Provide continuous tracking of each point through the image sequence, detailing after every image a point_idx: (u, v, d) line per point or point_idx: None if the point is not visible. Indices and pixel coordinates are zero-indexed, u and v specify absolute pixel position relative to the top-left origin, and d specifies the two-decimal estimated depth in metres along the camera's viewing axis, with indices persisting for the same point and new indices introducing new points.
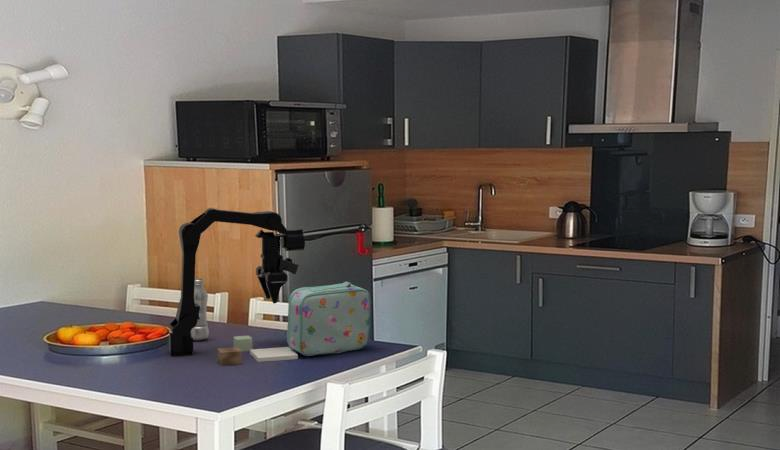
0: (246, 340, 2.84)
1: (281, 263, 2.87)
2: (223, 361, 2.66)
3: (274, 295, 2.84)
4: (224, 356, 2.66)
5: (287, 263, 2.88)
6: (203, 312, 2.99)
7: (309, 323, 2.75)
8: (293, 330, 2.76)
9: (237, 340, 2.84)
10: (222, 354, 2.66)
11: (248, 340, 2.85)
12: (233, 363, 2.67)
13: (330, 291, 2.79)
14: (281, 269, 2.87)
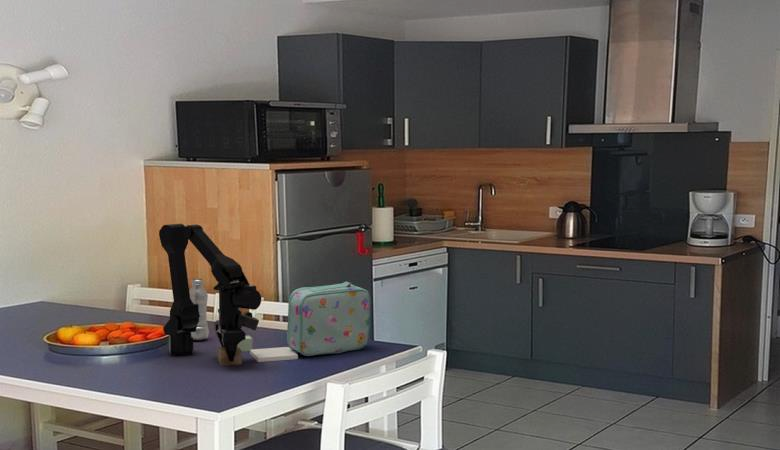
0: (246, 340, 2.84)
1: (239, 319, 2.67)
2: (223, 360, 2.66)
3: (231, 353, 2.65)
4: (224, 355, 2.66)
5: (246, 319, 2.68)
6: (203, 312, 2.99)
7: (309, 323, 2.75)
8: (293, 330, 2.76)
9: None
10: (222, 353, 2.66)
11: (248, 340, 2.85)
12: (233, 362, 2.67)
13: (330, 291, 2.79)
14: (239, 325, 2.67)
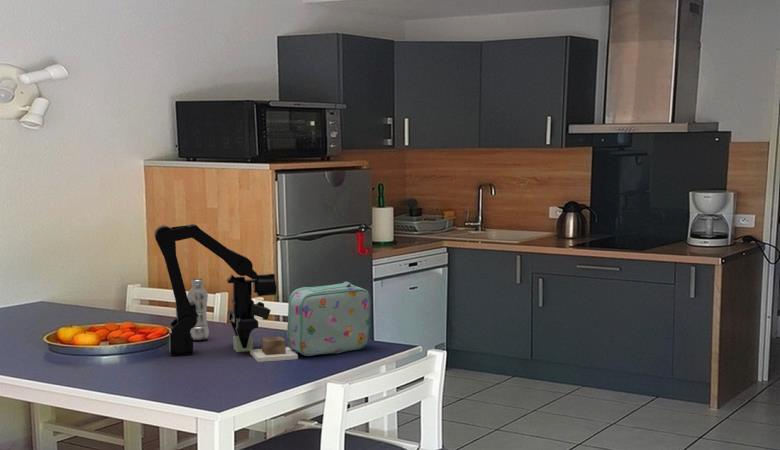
0: None
1: (252, 308, 2.84)
2: (268, 350, 2.74)
3: (244, 340, 2.83)
4: (269, 345, 2.74)
5: (258, 308, 2.85)
6: (203, 312, 2.99)
7: (309, 323, 2.75)
8: (293, 330, 2.76)
9: (237, 339, 2.84)
10: (267, 343, 2.74)
11: None
12: (277, 352, 2.75)
13: (330, 291, 2.79)
14: (252, 315, 2.84)
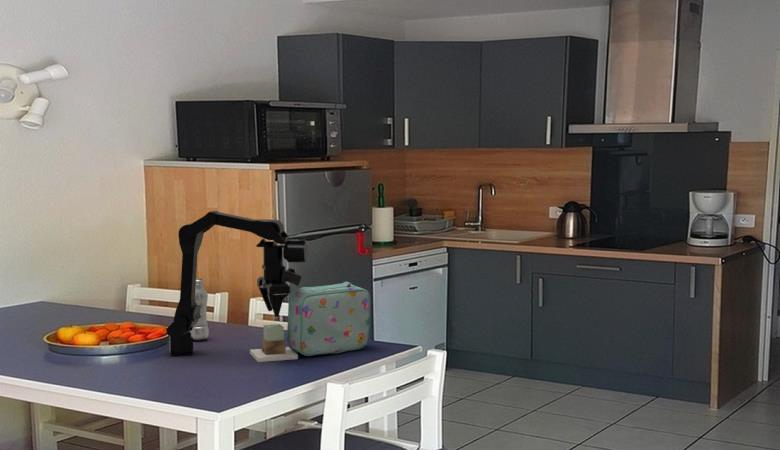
0: (277, 328, 2.75)
1: (283, 274, 2.74)
2: (268, 350, 2.74)
3: (276, 307, 2.71)
4: (269, 345, 2.74)
5: (290, 274, 2.75)
6: (203, 312, 2.99)
7: (309, 323, 2.75)
8: (293, 330, 2.76)
9: (268, 328, 2.74)
10: (267, 343, 2.74)
11: (279, 328, 2.75)
12: (277, 352, 2.75)
13: (330, 291, 2.79)
14: (283, 280, 2.74)
